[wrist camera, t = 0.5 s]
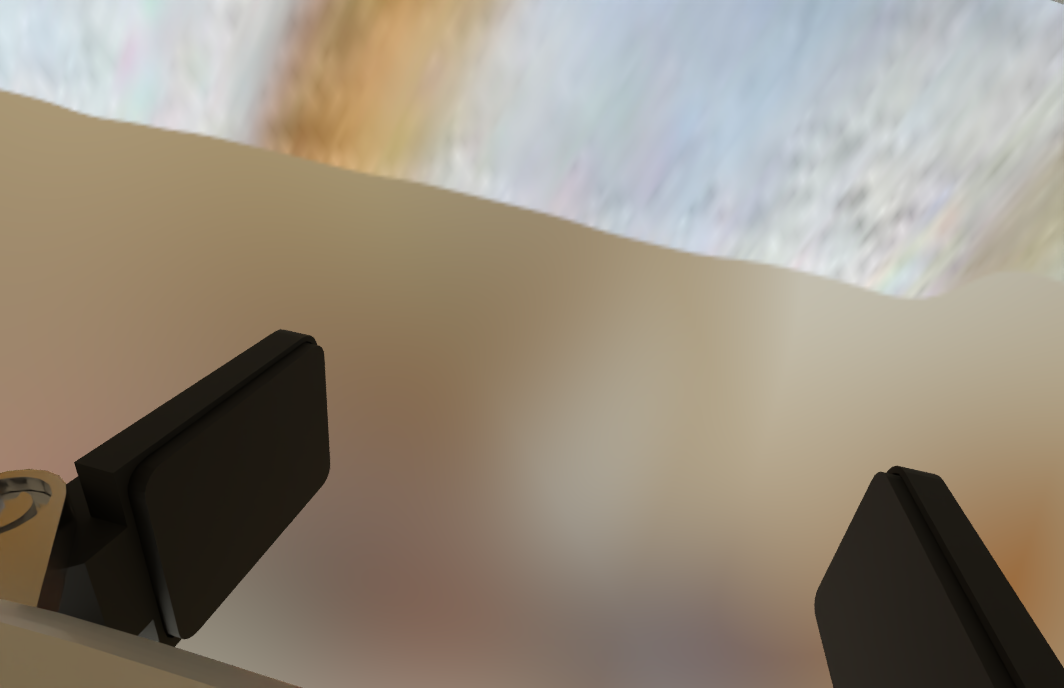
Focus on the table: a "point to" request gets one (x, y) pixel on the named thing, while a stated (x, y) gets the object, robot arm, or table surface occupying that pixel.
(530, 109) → the table surface
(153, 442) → the robot arm
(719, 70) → the table surface
